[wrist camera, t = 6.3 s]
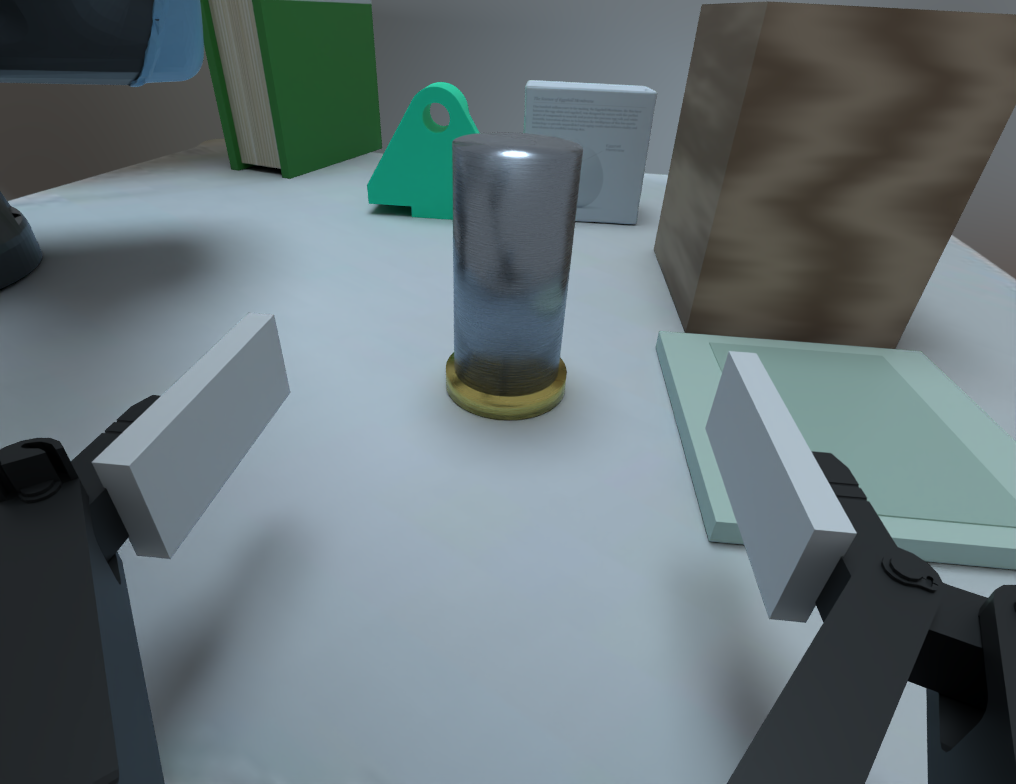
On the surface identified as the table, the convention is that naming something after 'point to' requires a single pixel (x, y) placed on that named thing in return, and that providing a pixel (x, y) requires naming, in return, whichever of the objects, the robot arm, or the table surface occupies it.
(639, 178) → the skincare box
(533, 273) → the grey glass cylinder
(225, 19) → the hardback book
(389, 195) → the camera mount
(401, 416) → the table surface
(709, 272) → the block
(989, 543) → the pad
